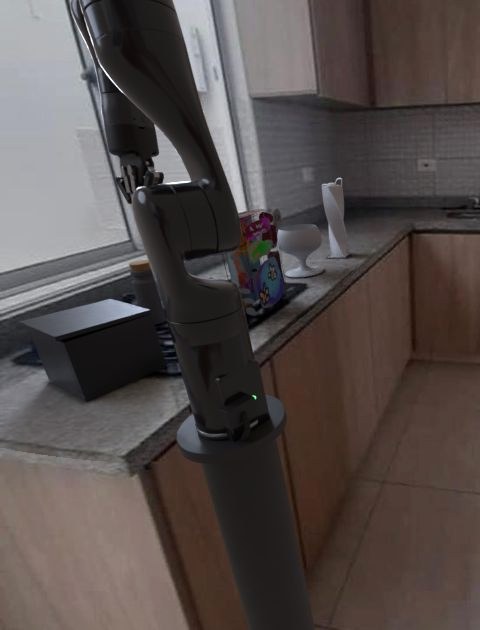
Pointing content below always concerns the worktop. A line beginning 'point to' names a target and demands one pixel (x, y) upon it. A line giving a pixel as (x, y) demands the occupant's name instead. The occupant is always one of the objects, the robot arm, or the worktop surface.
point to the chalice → (300, 246)
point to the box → (257, 261)
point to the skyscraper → (335, 220)
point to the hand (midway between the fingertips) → (147, 228)
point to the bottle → (147, 290)
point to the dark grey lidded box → (102, 357)
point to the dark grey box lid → (83, 319)
